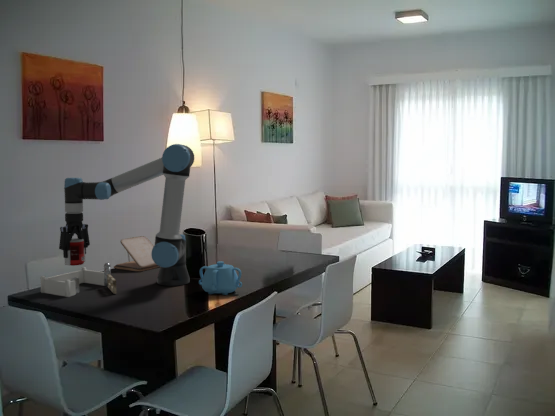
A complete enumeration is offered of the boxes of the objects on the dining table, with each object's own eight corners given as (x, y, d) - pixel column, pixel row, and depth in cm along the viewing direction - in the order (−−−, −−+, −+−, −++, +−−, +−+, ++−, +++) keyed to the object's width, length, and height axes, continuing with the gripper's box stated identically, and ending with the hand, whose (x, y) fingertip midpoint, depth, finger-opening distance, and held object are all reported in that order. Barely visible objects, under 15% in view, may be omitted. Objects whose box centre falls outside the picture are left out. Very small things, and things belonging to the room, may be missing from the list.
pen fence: (110, 285, 254) (110, 270, 253) (67, 297, 232) (66, 280, 231) (84, 281, 262) (83, 267, 261) (39, 292, 240) (39, 276, 239)
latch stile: (79, 292, 240) (78, 277, 240) (75, 293, 238) (74, 278, 238) (76, 291, 241) (75, 277, 241) (71, 293, 239) (71, 278, 239)
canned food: (80, 261, 252) (79, 237, 251) (87, 264, 246) (86, 239, 245) (63, 263, 247) (62, 239, 246) (69, 266, 241) (69, 241, 240)
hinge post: (112, 285, 254) (111, 262, 253) (107, 286, 251) (107, 263, 250) (107, 284, 255) (107, 261, 254) (102, 286, 253) (102, 263, 252)
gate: (107, 286, 250) (107, 274, 250) (110, 286, 251) (109, 274, 250) (113, 293, 237) (113, 280, 236) (116, 293, 238) (116, 280, 237)
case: (140, 272, 284) (140, 241, 282) (110, 268, 294) (110, 238, 293) (167, 266, 301) (166, 237, 300) (138, 262, 312) (138, 234, 310)
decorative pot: (231, 286, 253) (231, 257, 252) (244, 294, 238) (244, 263, 237) (197, 290, 246) (196, 260, 245) (208, 298, 231) (208, 266, 230)
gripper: (86, 210, 255) (87, 259, 257) (48, 214, 237) (50, 266, 239) (97, 211, 252) (98, 260, 254) (60, 215, 234) (62, 268, 236)
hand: (75, 263), depth 246 cm, fingers closed on canned food, 8 cm apart
